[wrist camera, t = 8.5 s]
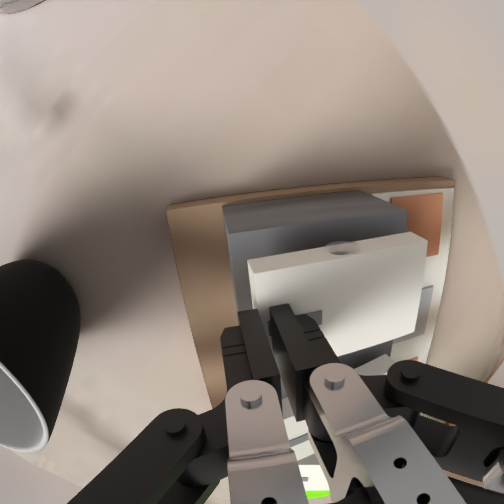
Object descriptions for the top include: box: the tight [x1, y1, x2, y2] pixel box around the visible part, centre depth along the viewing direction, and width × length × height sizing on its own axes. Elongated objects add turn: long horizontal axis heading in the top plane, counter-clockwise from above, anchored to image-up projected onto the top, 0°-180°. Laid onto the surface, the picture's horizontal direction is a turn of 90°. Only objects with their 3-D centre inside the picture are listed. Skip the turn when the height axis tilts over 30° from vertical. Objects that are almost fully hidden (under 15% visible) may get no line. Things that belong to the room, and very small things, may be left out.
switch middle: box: [282, 354, 396, 461], centre depth 15 cm, size 4×7×2 cm, turn 96°
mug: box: [0, 260, 80, 452], centre depth 14 cm, size 12×9×10 cm
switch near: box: [247, 232, 428, 357], centre depth 12 cm, size 4×7×2 cm, turn 96°
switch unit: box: [166, 177, 455, 409], centre depth 19 cm, size 20×19×6 cm
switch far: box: [297, 453, 329, 491], centre depth 17 cm, size 4×7×2 cm, turn 96°
